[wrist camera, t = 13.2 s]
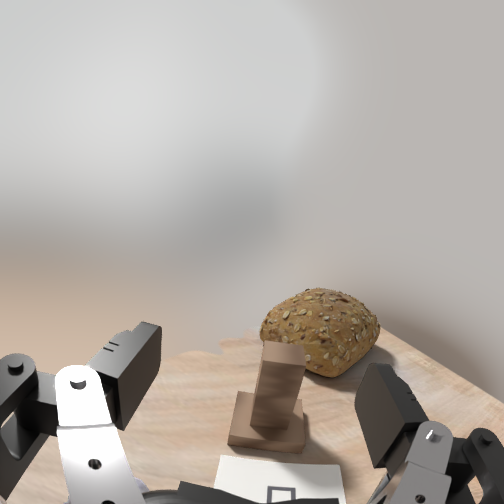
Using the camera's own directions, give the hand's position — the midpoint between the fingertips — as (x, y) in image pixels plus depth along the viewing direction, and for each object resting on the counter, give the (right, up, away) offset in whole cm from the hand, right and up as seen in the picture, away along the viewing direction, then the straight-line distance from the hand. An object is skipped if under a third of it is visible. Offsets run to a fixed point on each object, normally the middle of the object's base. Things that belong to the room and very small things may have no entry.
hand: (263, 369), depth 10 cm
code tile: (+2, -21, +10) cm, 24 cm away
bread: (+13, -16, +48) cm, 52 cm away
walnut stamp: (+1, -18, +23) cm, 30 cm away
